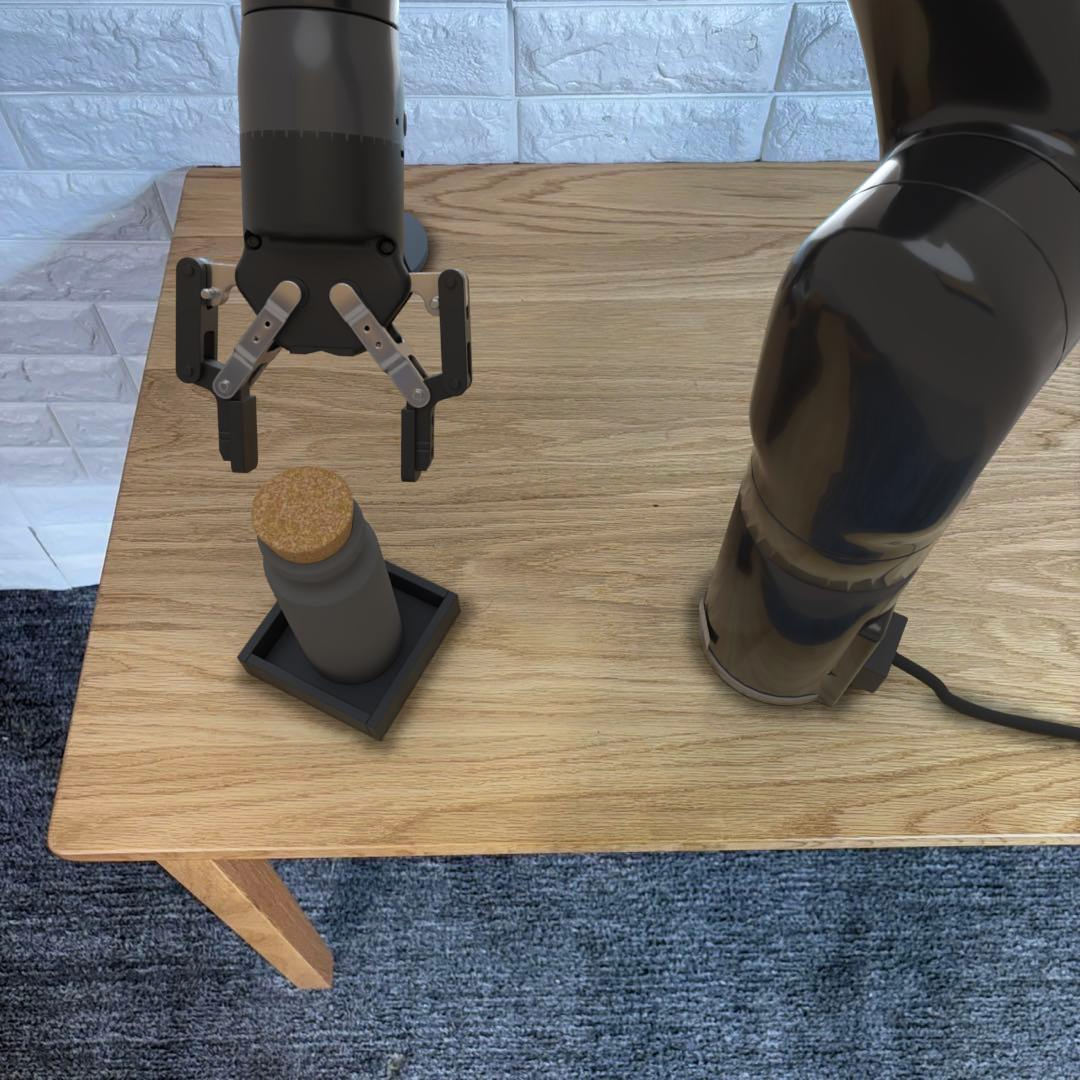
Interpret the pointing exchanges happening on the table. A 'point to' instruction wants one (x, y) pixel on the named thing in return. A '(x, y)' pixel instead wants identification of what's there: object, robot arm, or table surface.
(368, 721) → the tray
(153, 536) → the table surface
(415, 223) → the mat
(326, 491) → the bottle
